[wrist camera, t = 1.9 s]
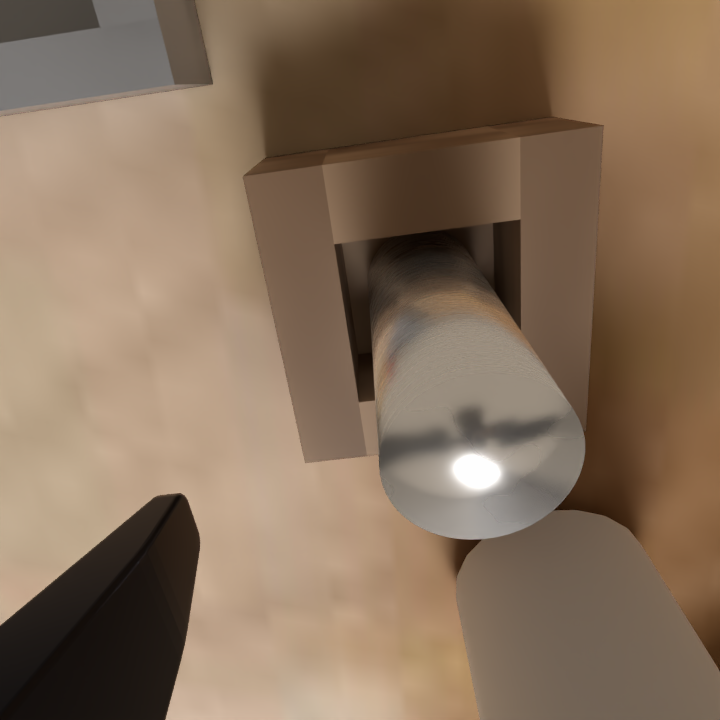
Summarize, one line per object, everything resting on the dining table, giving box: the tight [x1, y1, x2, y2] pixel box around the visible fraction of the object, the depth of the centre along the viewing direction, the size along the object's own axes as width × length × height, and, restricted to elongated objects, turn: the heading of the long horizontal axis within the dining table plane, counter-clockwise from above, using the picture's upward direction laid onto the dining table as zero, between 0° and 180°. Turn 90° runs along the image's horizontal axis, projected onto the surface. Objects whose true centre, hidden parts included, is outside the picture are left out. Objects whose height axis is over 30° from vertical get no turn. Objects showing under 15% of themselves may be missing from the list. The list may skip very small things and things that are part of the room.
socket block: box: [243, 117, 604, 463], centre depth 16 cm, size 8×8×4 cm
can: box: [456, 510, 720, 720], centre depth 17 cm, size 8×8×12 cm
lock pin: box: [368, 230, 585, 540], centre depth 13 cm, size 3×3×9 cm
